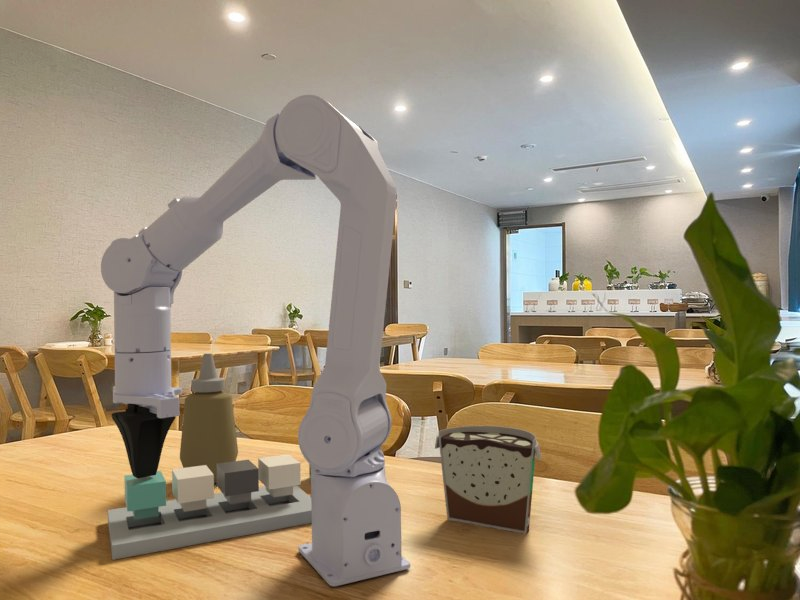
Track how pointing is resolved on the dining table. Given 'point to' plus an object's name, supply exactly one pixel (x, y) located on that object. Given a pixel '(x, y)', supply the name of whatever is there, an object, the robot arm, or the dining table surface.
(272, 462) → the near ivory key
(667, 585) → the dining table surface
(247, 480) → the dark gray key
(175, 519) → the selector panel
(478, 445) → the food container
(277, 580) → the dining table surface
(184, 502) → the middle ivory key
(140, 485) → the teal key
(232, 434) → the squeeze bottle
